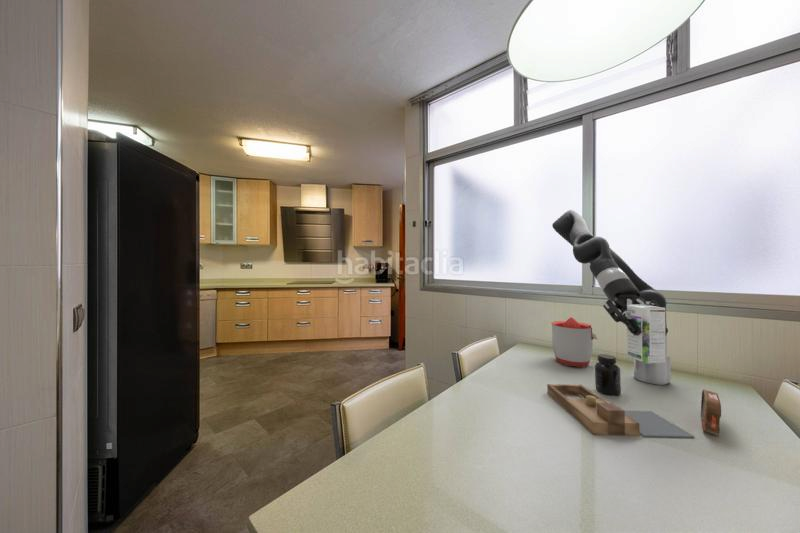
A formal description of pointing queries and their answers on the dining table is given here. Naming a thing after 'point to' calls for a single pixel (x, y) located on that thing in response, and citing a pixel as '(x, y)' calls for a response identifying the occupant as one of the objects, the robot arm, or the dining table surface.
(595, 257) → the robot arm
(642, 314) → the syrup box
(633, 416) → the mat
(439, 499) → the dining table surface
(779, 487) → the dining table surface
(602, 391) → the supplement bottle
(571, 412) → the body
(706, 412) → the tin
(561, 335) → the citrus juicer
